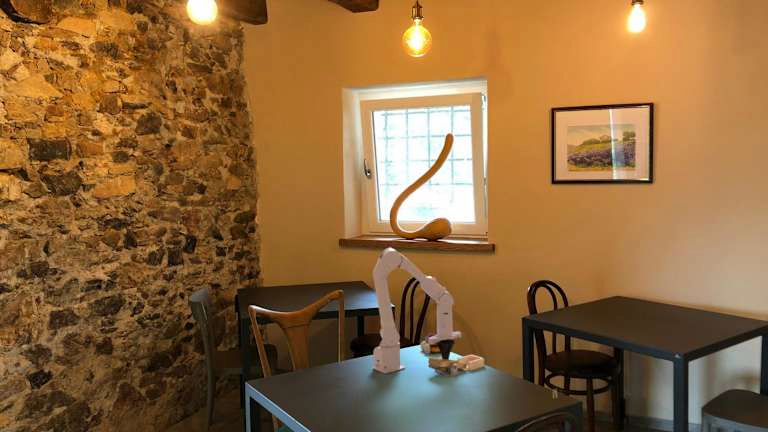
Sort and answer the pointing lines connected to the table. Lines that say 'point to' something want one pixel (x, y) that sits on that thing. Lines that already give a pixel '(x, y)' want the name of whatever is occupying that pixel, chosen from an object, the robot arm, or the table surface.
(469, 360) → the ball
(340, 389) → the table surface
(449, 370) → the mount
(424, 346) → the colorful rounded pieces cluster
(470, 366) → the tan shallow rectangular box
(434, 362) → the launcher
